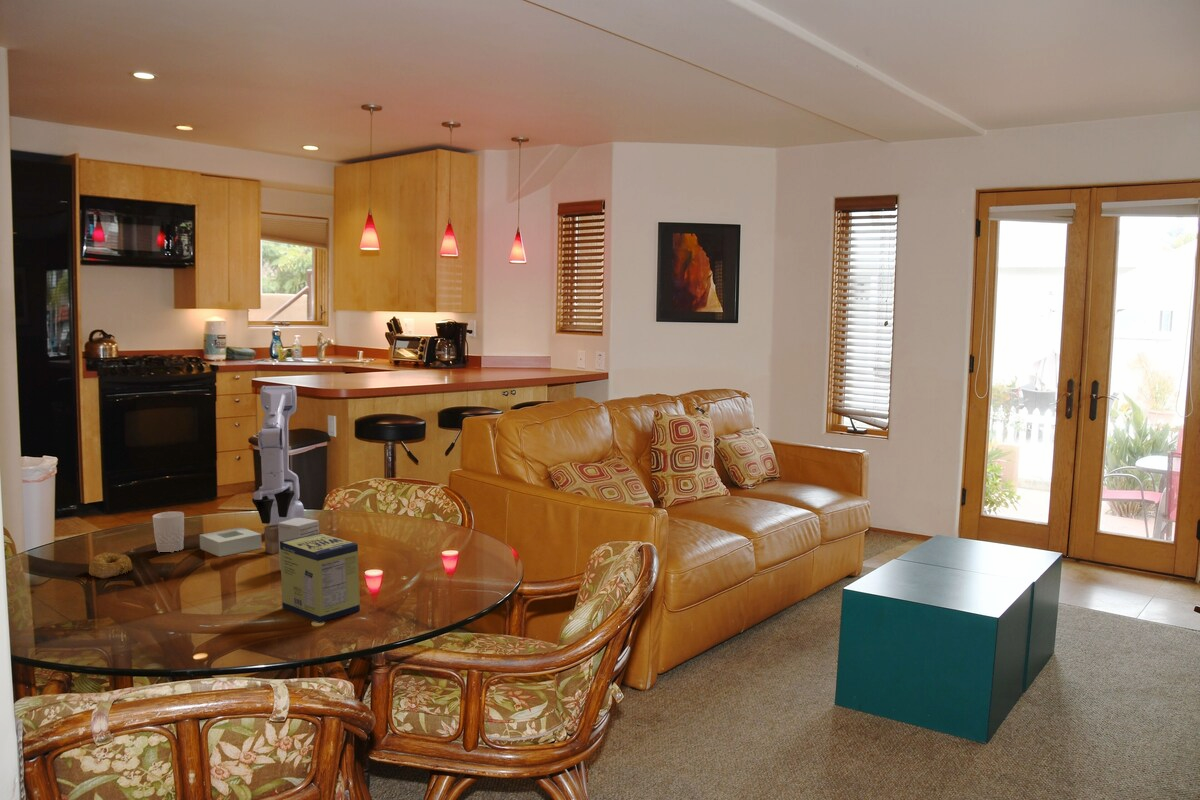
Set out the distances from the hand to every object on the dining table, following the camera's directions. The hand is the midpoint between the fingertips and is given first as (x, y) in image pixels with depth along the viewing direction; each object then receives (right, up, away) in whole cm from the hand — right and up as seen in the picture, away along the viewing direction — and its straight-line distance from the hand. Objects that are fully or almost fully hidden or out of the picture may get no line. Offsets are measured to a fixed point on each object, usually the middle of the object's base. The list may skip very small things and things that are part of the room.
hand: (274, 520), depth 248 cm
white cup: (-30, -9, +2) cm, 31 cm away
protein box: (+27, -14, -46) cm, 55 cm away
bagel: (-35, -11, -19) cm, 41 cm away
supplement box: (+12, -11, -15) cm, 22 cm away
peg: (0, -9, +1) cm, 9 cm away
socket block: (-14, -8, +4) cm, 16 cm away
